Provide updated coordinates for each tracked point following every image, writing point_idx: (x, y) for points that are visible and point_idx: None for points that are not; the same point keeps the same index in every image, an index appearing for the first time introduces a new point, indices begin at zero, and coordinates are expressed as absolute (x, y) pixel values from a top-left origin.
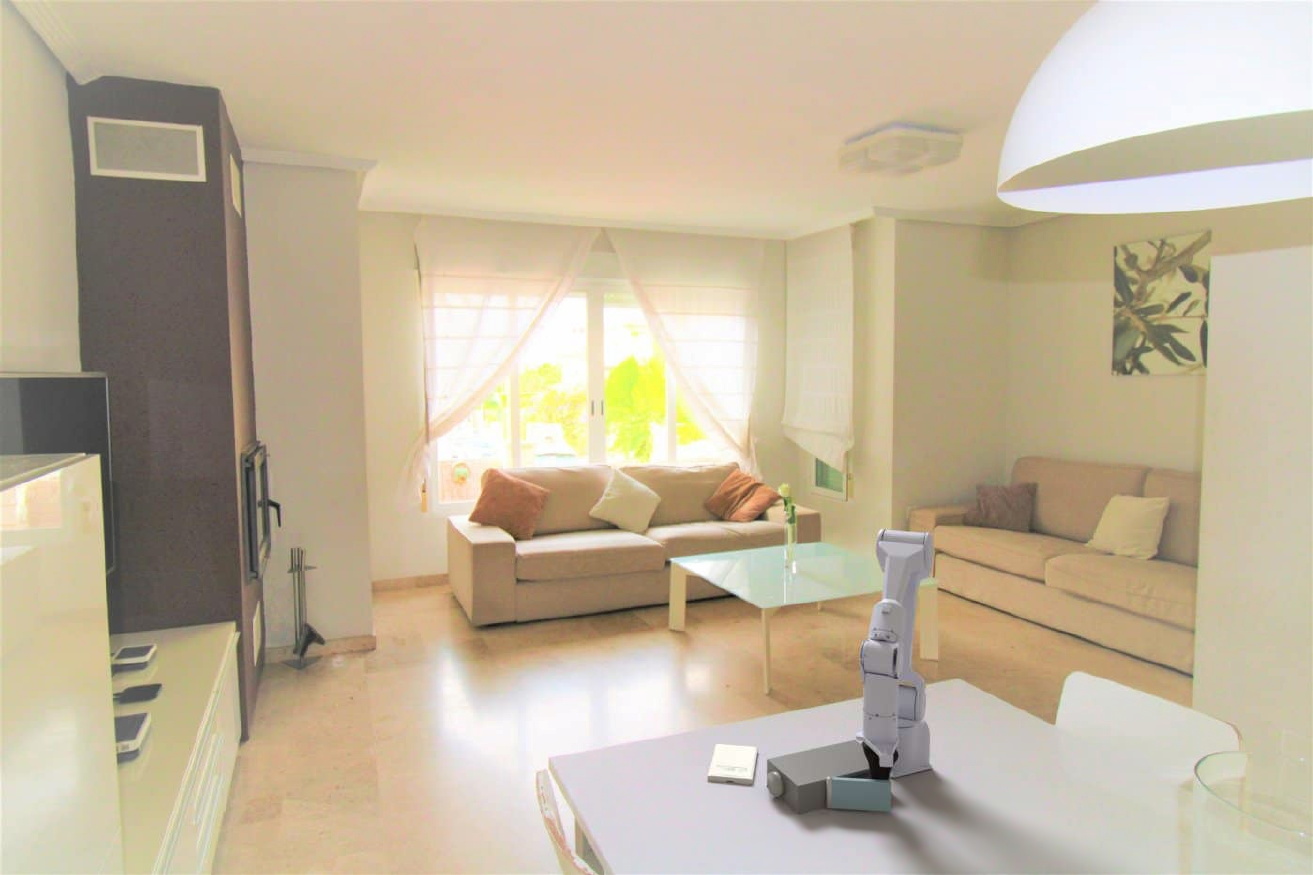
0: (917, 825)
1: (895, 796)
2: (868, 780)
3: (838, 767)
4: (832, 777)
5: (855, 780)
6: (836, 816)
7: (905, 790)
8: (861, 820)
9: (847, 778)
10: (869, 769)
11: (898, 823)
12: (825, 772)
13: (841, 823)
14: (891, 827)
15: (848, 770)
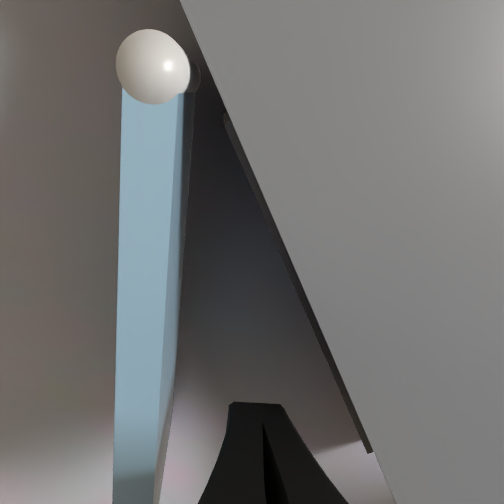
0: (64, 487)
1: (318, 452)
2: (134, 428)
3: (426, 219)
4: (165, 103)
5: (122, 326)
6: (102, 107)
7: (368, 500)
8: (75, 249)
9: (158, 260)
10: (309, 469)
11: (70, 418)
12: (339, 59)
13: (23, 123)
14: (27, 381)
15: (359, 297)
